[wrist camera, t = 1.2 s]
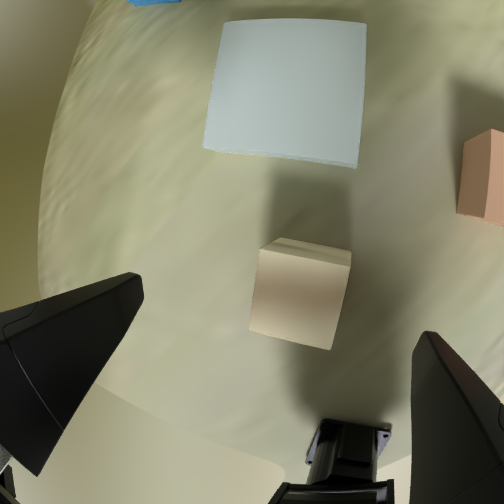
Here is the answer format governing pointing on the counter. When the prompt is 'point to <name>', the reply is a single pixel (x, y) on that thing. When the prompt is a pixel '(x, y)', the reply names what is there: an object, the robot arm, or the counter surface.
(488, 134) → the terracotta cube
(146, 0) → the perfume bottle
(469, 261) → the counter surface
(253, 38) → the blue-grey slab
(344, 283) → the birch cube
